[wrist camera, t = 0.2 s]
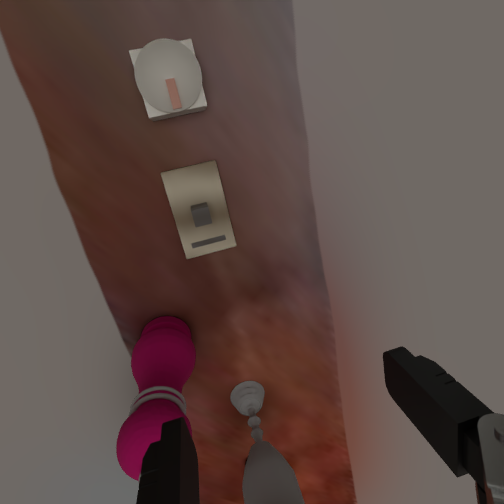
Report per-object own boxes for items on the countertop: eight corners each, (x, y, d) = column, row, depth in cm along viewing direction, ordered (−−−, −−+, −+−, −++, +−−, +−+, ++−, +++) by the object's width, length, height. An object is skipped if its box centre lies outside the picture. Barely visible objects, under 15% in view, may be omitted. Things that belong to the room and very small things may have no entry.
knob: (134, 61, 32) (123, 43, 27) (191, 50, 33) (192, 30, 27) (152, 122, 34) (146, 117, 29) (206, 110, 35) (209, 103, 29)
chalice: (216, 387, 45) (233, 527, 29) (259, 366, 46) (302, 493, 29) (236, 422, 48) (262, 570, 31) (277, 403, 48) (325, 538, 32)
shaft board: (161, 172, 36) (158, 175, 31) (214, 159, 36) (218, 161, 32) (186, 255, 39) (186, 268, 35) (234, 242, 40) (240, 254, 35)
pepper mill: (206, 329, 42) (221, 471, 24) (173, 369, 43) (163, 537, 25) (159, 301, 40) (134, 434, 21) (125, 345, 41) (74, 509, 22)
